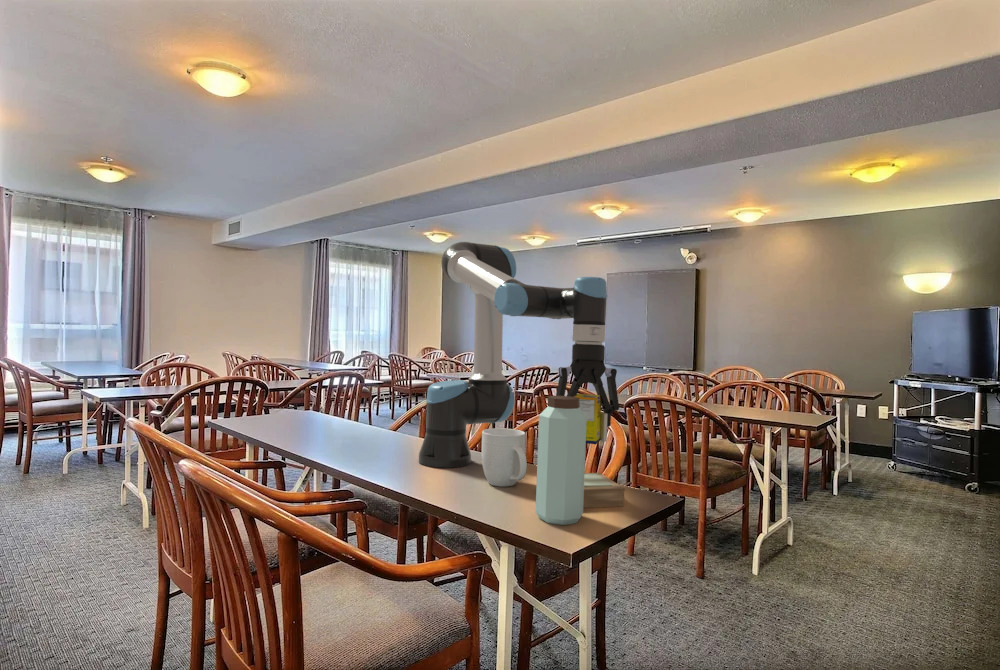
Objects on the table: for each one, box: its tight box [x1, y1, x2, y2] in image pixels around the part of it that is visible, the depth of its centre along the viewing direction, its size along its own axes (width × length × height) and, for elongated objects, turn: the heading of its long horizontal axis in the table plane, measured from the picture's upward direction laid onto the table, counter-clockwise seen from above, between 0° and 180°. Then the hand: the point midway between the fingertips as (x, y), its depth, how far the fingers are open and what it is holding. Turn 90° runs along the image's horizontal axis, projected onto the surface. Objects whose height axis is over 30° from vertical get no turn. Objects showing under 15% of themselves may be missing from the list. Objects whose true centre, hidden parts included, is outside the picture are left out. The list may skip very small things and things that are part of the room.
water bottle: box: [535, 395, 587, 526], centre depth 115 cm, size 10×10×25 cm
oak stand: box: [583, 472, 625, 509], centre depth 130 cm, size 14×14×4 cm
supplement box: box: [574, 393, 602, 445], centre depth 129 cm, size 6×6×11 cm
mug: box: [481, 427, 528, 488], centre depth 138 cm, size 15×11×13 cm
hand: (585, 440), depth 130 cm, fingers closed on supplement box, 8 cm apart
